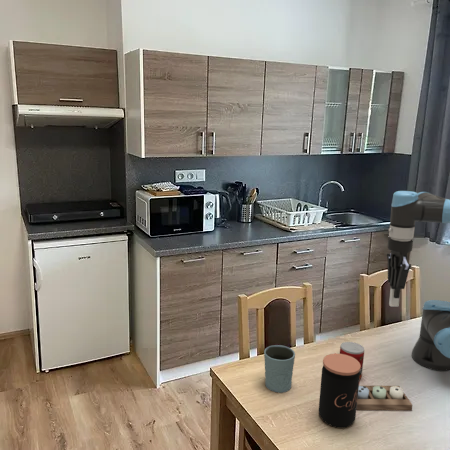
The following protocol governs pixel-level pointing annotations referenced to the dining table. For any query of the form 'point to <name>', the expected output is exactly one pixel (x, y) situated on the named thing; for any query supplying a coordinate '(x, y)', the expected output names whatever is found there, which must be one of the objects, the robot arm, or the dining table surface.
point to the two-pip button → (379, 392)
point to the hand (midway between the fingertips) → (393, 305)
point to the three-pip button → (363, 392)
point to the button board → (383, 402)
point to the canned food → (353, 352)
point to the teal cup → (278, 368)
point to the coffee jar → (339, 390)
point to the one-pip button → (396, 392)
